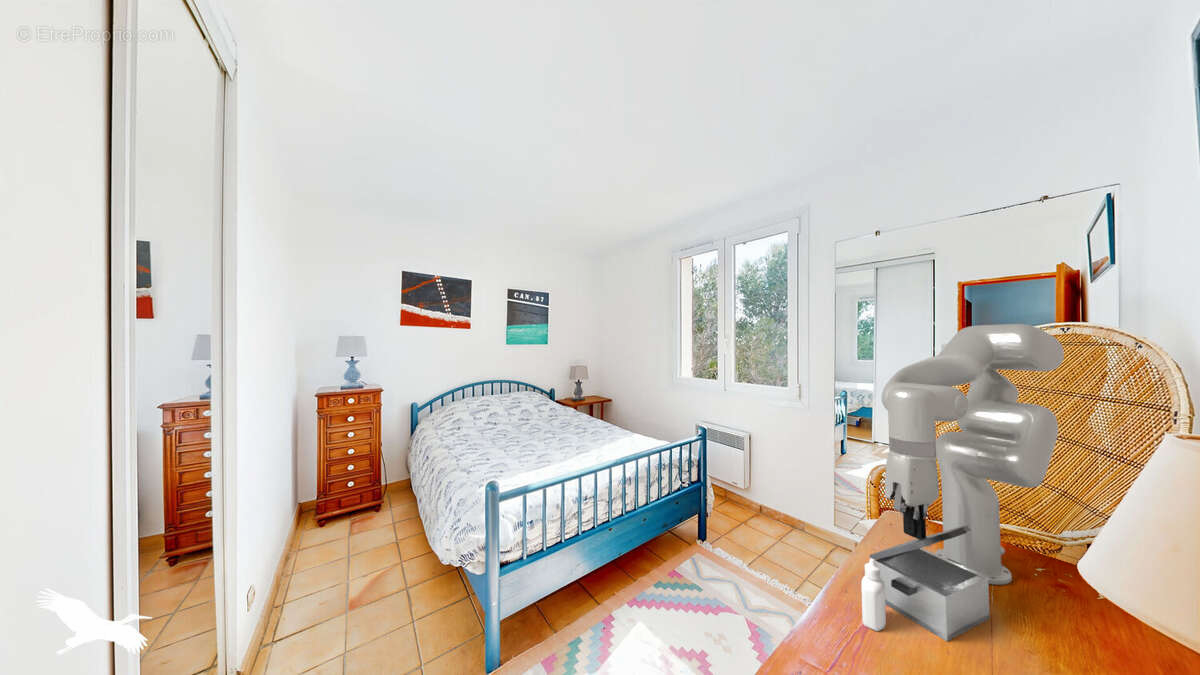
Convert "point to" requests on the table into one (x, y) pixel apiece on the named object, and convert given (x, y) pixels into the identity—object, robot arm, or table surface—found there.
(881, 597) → the eye dropper bottle
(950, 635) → the grey rectangular box
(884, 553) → the lid
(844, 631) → the table surface
